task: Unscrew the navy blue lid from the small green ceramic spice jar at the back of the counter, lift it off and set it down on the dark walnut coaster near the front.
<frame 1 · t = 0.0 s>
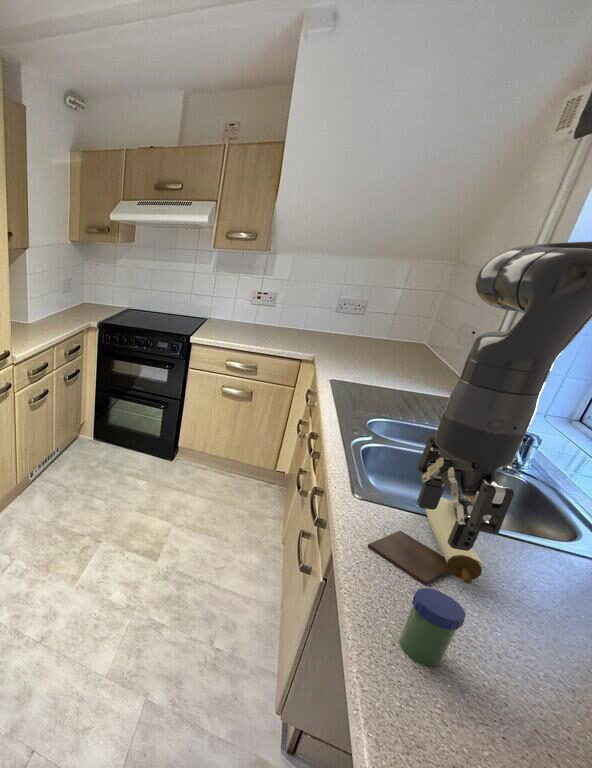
hand: (440, 526, 56), 25 cm above the counter, tool pointing down, fingers open, 8 cm apart
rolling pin: (444, 542, 89), on the counter, touching coaster
jar: (419, 650, 66), on the counter
lid: (439, 605, 63), point 10 cm above the counter, screwed on, not yet turned
coaster: (410, 557, 85), on the counter
sprinkles bottle: (458, 520, 97), on the counter
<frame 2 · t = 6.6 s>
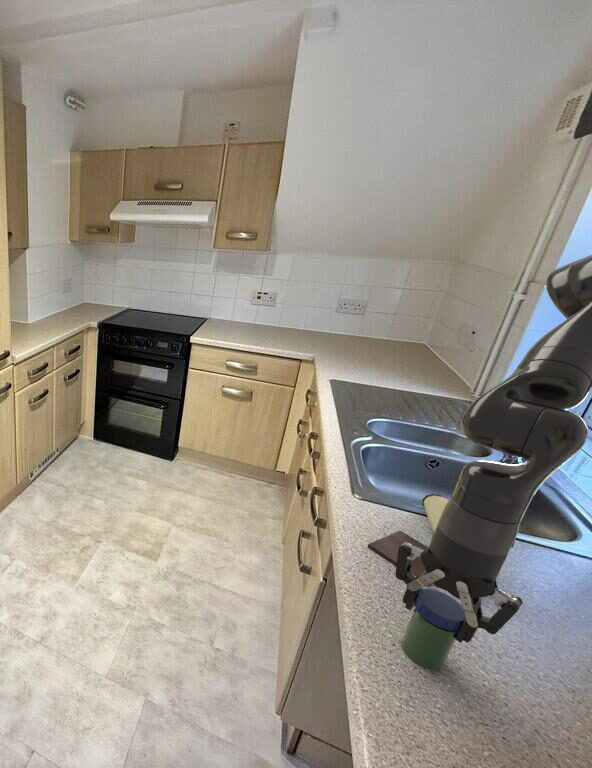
hand: (434, 622, 63), 7 cm above the counter, tool pointing down, fingers closed on lid, 5 cm apart
jar: (421, 653, 66), on the counter, touching gripper
lid: (441, 605, 62), point 10 cm above the counter, off its thread, touching gripper
everything else where it was.
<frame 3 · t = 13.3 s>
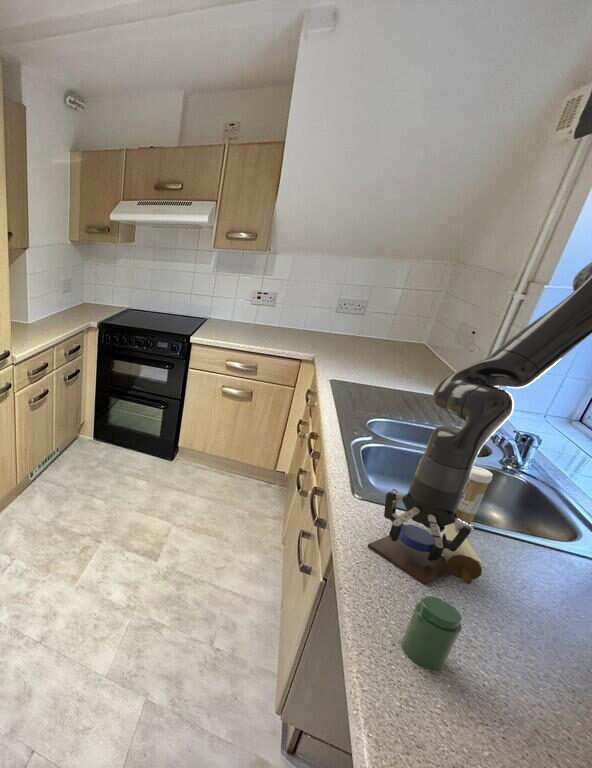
hand: (412, 548, 85), 2 cm above the counter, tool pointing down, fingers closed on lid, 5 cm apart
jar: (421, 653, 66), on the counter
lid: (417, 535, 84), point 5 cm above the counter, off its thread, touching gripper
everything else where it was.
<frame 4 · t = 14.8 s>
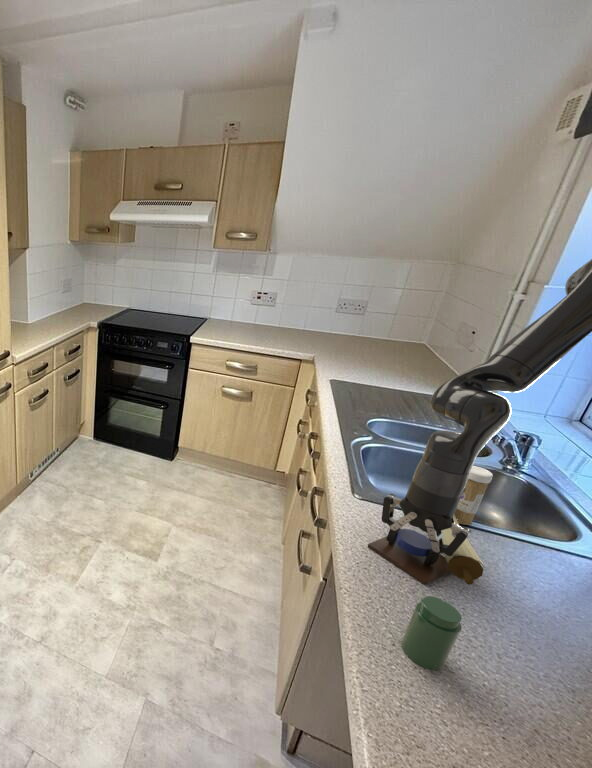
hand: (409, 552, 85), 1 cm above the counter, tool pointing down, fingers closed on lid, 5 cm apart
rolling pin: (444, 542, 89), on the counter, touching coaster, gripper
lid: (414, 540, 84), point 4 cm above the counter, off its thread, touching gripper
everything else where it was.
when the fingers open (1 cm above the counter, at t = 17.5 s): lid drops 2 cm, resting on coaster.
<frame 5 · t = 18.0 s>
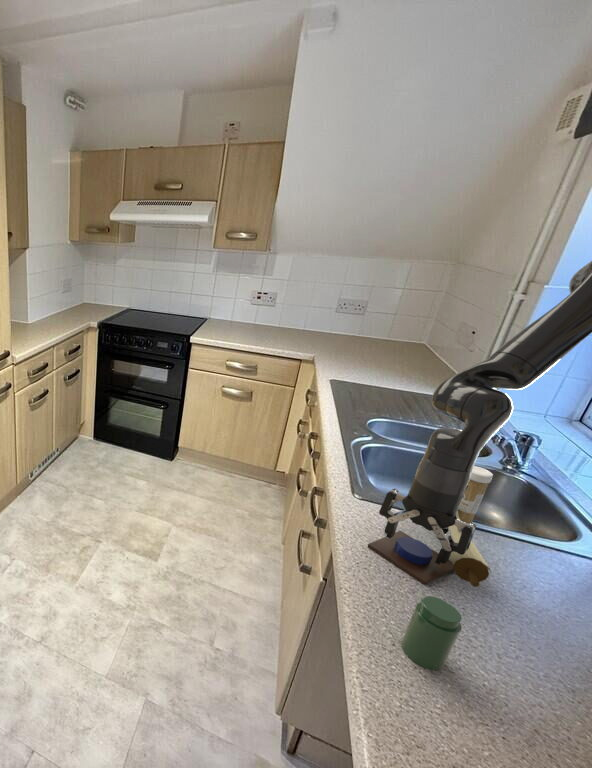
hand: (413, 548, 85), 2 cm above the counter, tool pointing down, fingers open, 8 cm apart
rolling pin: (445, 541, 89), point 1 cm above the counter, touching coaster, gripper, sprinkles bottle
lid: (414, 548, 84), point 2 cm above the counter, off its thread, touching coaster
sprinkles bottle: (458, 520, 97), on the counter, touching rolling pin
everything else where it was.
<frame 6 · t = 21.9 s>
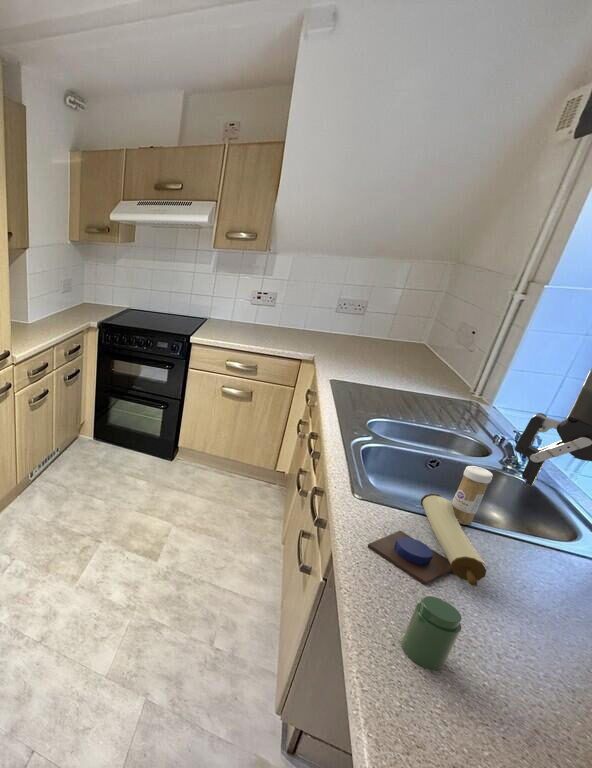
hand: (572, 498, 58), 28 cm above the counter, tool pointing down, fingers open, 8 cm apart
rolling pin: (445, 542, 89), on the counter, touching coaster
sprinkles bottle: (458, 520, 97), on the counter
everything else where it was.
at the end: lid came off its thread; lid inside the target area on the coaster (0.0 cm from its centre), point 2.3 cm above the coaster's base; the gripper is holding nothing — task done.
